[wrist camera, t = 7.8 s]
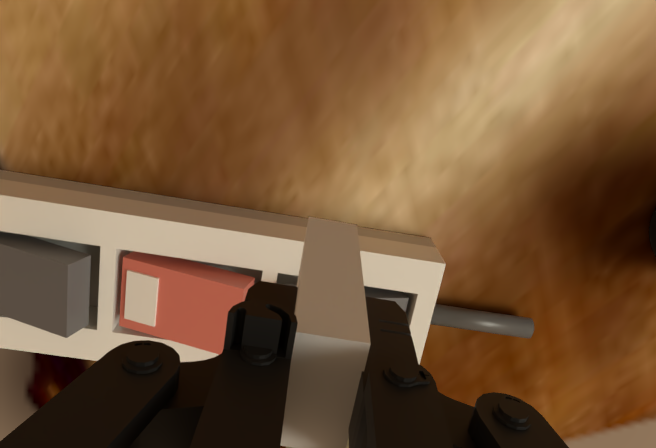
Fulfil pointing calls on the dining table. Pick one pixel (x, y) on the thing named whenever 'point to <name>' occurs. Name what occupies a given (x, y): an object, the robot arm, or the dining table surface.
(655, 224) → the mug
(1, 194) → the strip
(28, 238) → the rocker
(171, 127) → the dining table surface
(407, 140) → the dining table surface
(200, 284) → the rocker mid
